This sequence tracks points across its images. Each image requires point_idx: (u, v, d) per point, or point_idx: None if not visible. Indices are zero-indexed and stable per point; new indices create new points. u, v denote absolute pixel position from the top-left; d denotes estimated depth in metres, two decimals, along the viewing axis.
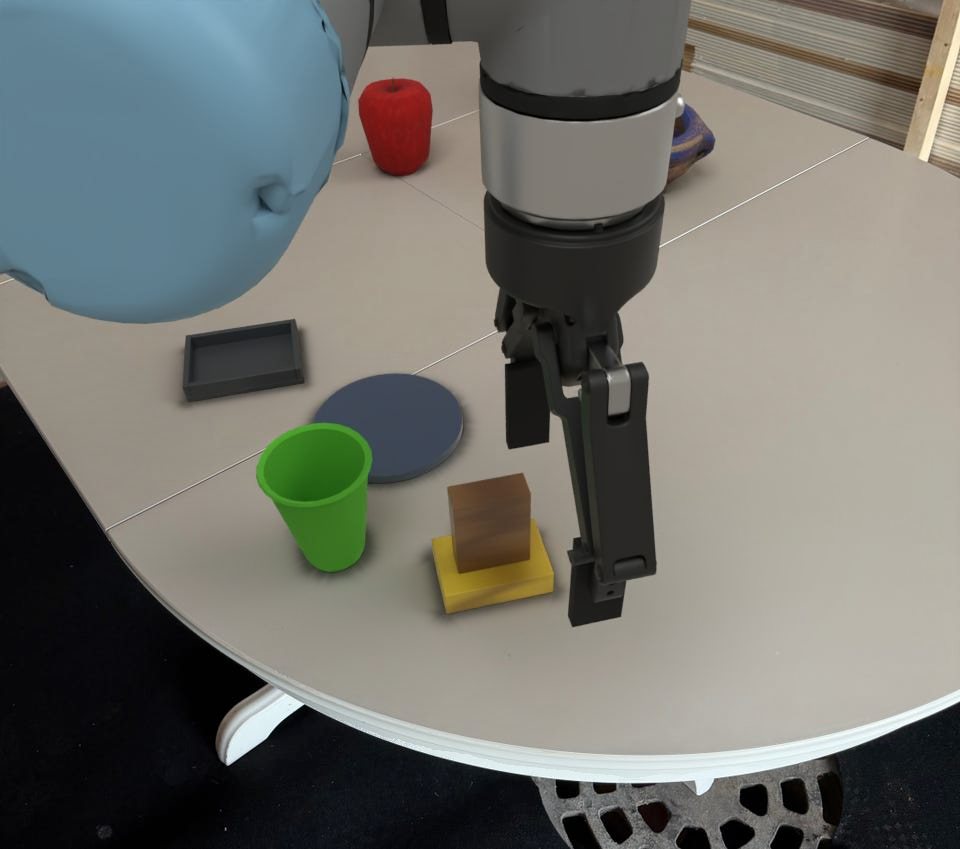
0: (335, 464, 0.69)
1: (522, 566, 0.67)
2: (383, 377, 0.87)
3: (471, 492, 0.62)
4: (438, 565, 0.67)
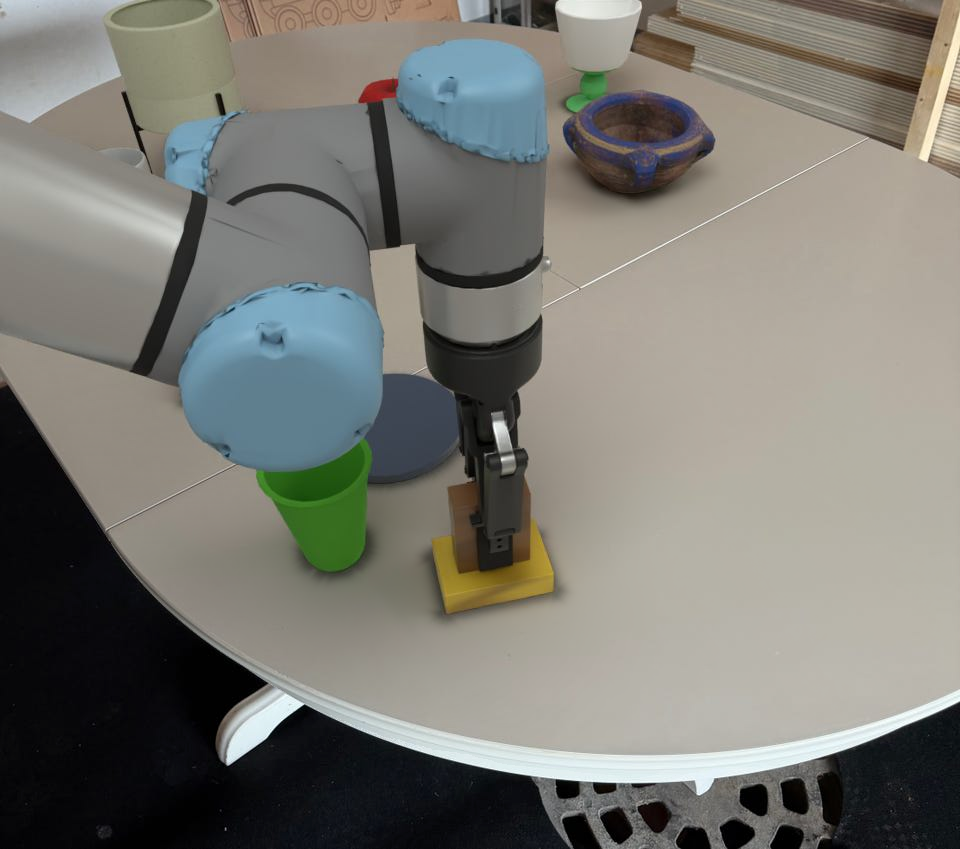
0: (335, 464, 0.69)
1: (522, 566, 0.67)
2: (383, 377, 0.87)
3: (471, 492, 0.62)
4: (438, 565, 0.67)
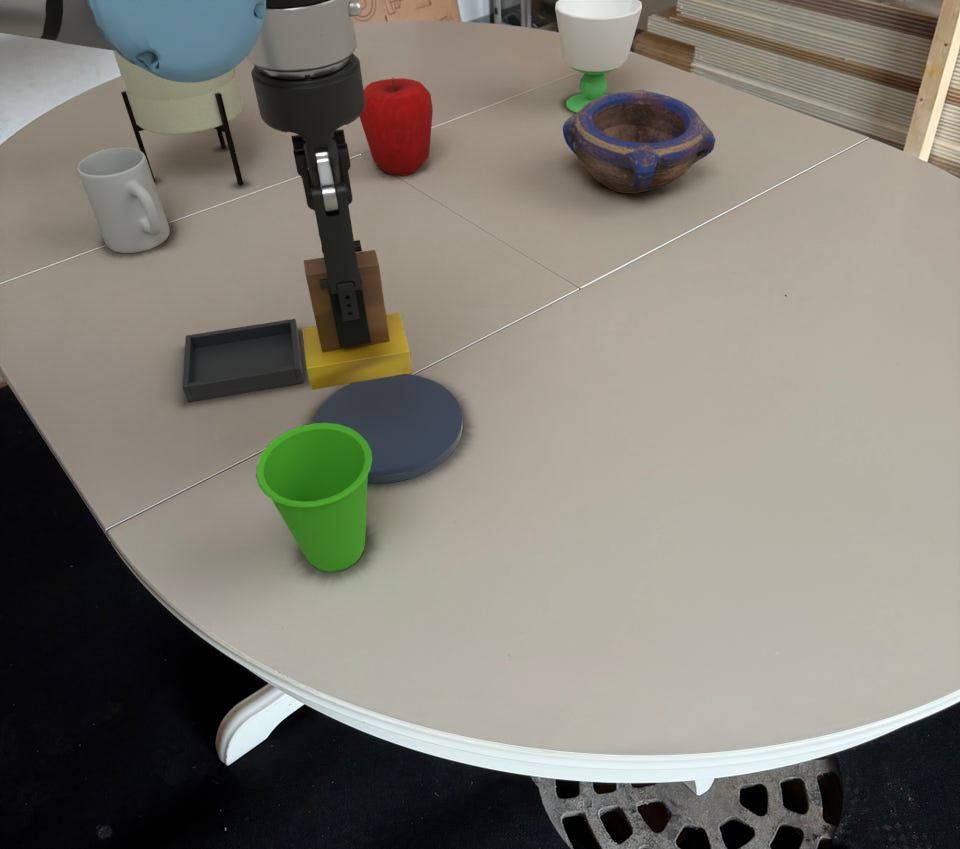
0: (335, 464, 0.69)
1: (382, 346, 0.72)
2: None
3: None
4: (305, 346, 0.73)
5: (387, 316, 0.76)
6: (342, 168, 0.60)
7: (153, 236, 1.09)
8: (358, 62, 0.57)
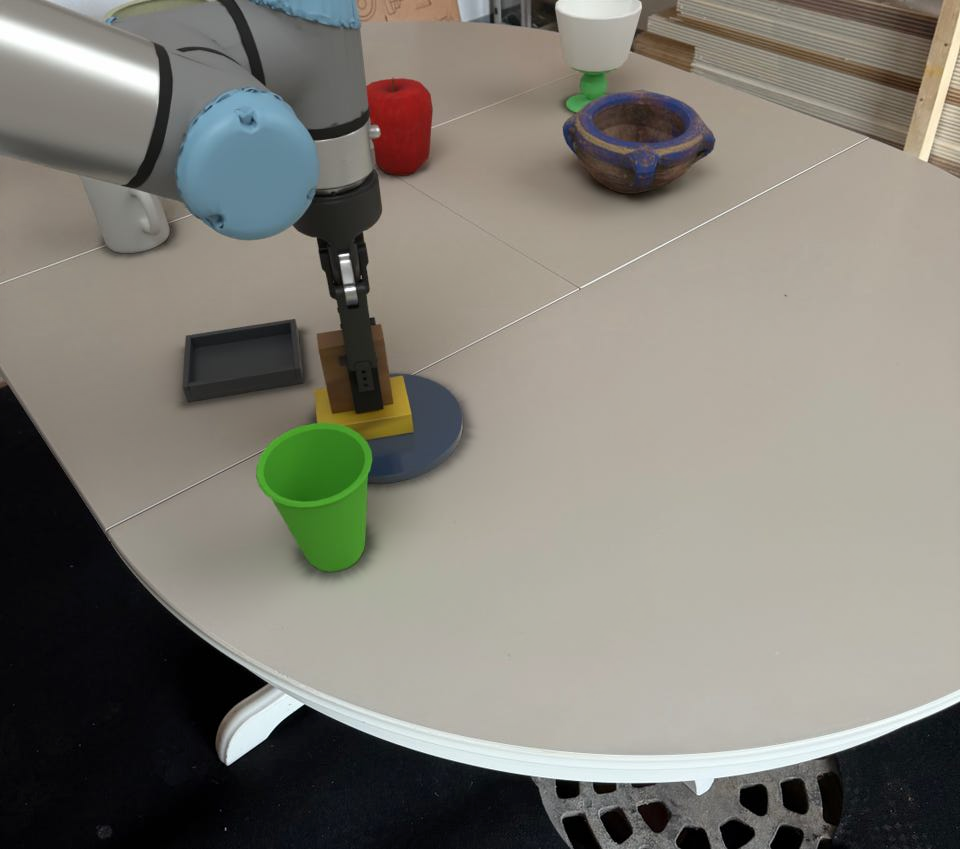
0: (335, 464, 0.69)
1: (386, 408, 0.80)
2: None
3: (335, 337, 0.75)
4: (316, 408, 0.80)
5: (391, 379, 0.83)
6: (361, 264, 0.68)
7: (153, 236, 1.09)
8: (376, 175, 0.65)
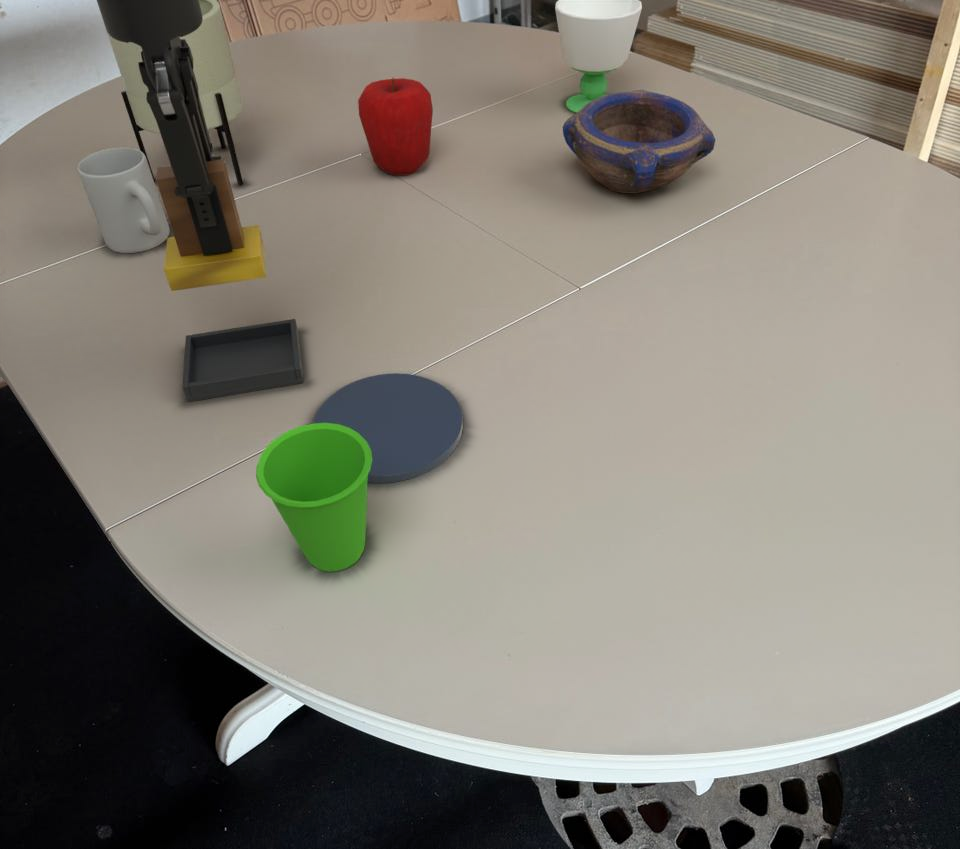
0: (335, 464, 0.69)
1: (236, 251, 0.79)
2: (383, 377, 0.87)
3: None
4: (166, 252, 0.79)
5: (247, 227, 0.82)
6: (184, 79, 0.67)
7: (153, 236, 1.09)
8: None
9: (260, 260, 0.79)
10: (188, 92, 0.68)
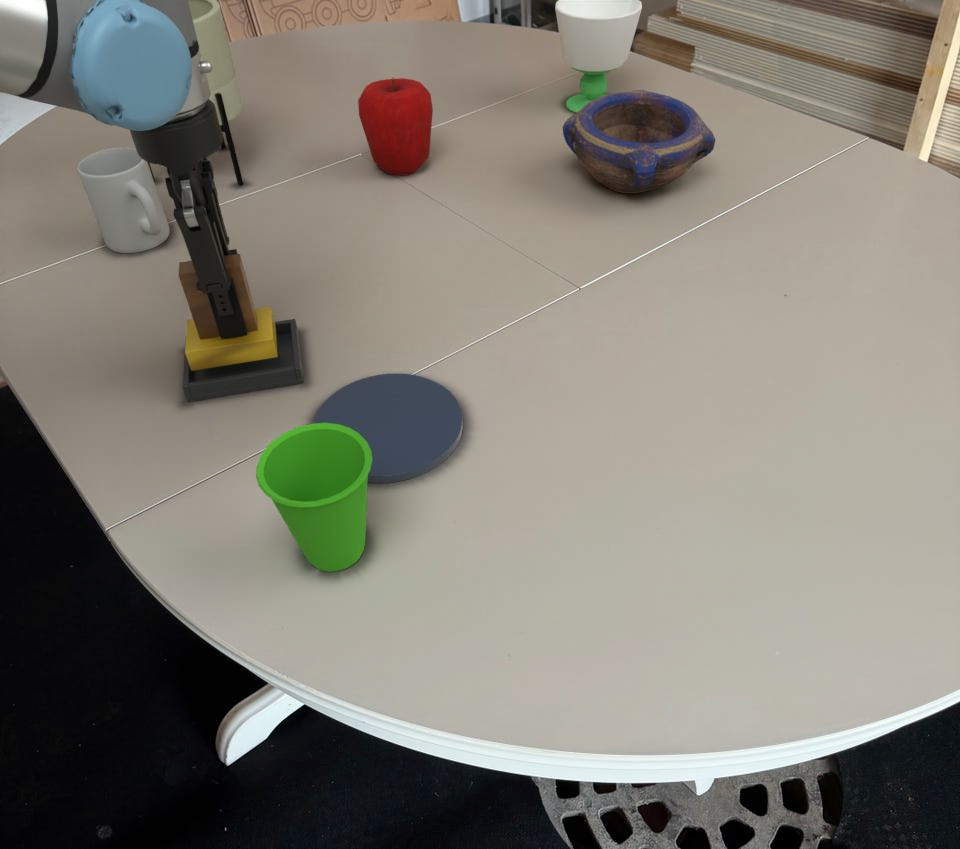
0: (335, 464, 0.69)
1: (250, 334, 0.86)
2: (383, 377, 0.87)
3: None
4: (186, 334, 0.87)
5: (260, 309, 0.89)
6: (206, 192, 0.75)
7: (153, 236, 1.09)
8: (213, 108, 0.72)
9: (272, 342, 0.86)
10: (209, 202, 0.75)
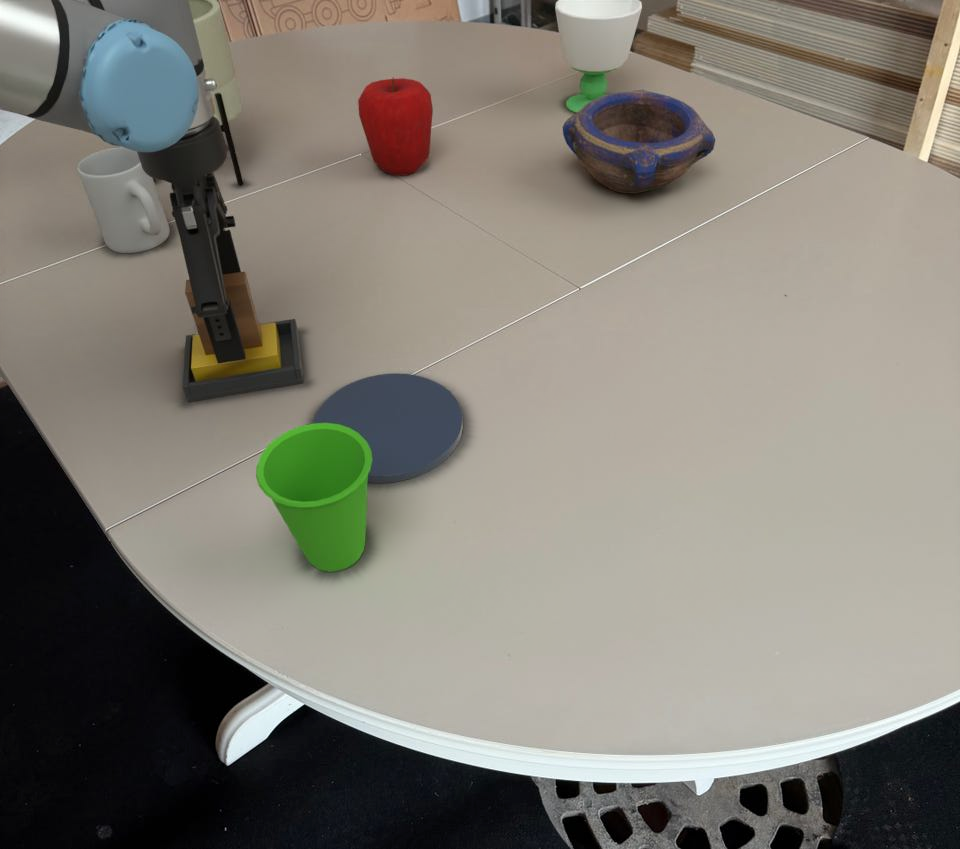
0: (335, 464, 0.69)
1: (255, 350, 0.88)
2: (383, 377, 0.87)
3: None
4: (192, 350, 0.88)
5: (264, 325, 0.91)
6: (208, 203, 0.75)
7: (153, 236, 1.09)
8: (218, 125, 0.73)
9: (277, 358, 0.87)
10: None
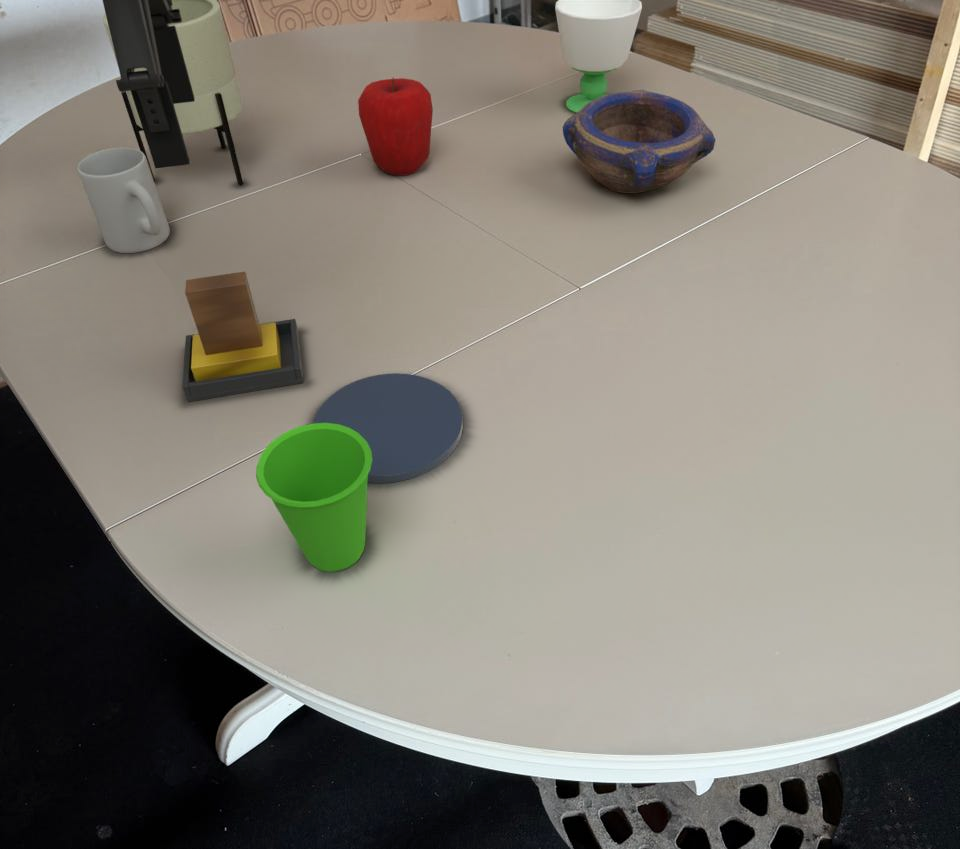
0: (335, 464, 0.69)
1: (255, 350, 0.88)
2: (383, 377, 0.87)
3: (202, 282, 0.83)
4: (192, 350, 0.88)
5: (264, 325, 0.91)
6: None
7: (153, 236, 1.09)
8: None
9: (277, 358, 0.87)
10: None
